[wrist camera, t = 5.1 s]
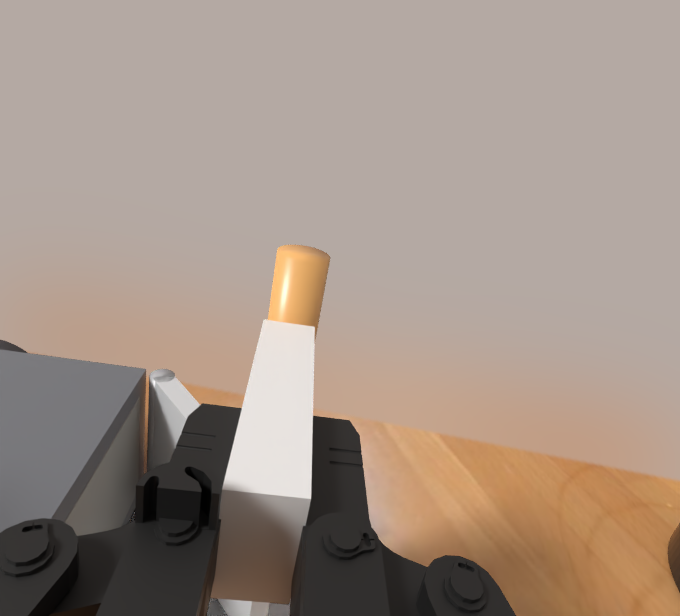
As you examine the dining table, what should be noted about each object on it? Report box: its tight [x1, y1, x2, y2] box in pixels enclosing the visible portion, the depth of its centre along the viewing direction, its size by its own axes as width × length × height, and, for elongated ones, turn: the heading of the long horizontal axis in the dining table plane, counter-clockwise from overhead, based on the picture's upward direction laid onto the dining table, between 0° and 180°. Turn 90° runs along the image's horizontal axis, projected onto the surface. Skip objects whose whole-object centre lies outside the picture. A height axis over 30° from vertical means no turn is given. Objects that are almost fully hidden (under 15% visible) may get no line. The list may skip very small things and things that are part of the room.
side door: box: [147, 245, 330, 616], centre depth 21 cm, size 2×11×17 cm, turn 42°
